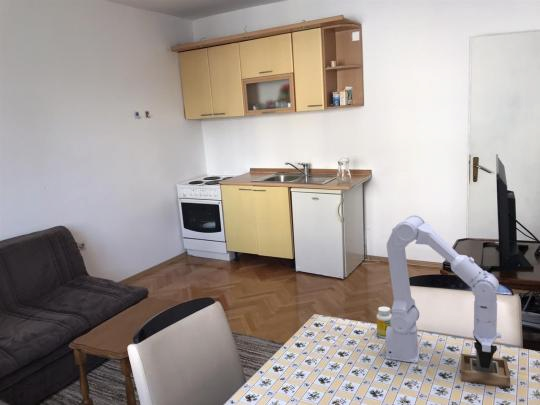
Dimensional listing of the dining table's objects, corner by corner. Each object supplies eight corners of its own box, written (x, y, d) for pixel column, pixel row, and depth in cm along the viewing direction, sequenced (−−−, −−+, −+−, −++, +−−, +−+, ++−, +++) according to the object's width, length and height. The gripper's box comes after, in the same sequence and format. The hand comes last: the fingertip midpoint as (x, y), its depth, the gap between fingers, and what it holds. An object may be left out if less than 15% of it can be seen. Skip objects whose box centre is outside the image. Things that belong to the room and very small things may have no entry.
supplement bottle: (384, 329, 157) (383, 304, 156) (396, 335, 153) (395, 308, 151) (373, 334, 154) (372, 308, 153) (385, 340, 150) (384, 313, 148)
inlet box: (461, 381, 125) (461, 371, 124) (461, 362, 134) (461, 353, 133) (510, 388, 120) (510, 378, 119) (506, 368, 129) (506, 359, 128)
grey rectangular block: (476, 372, 125) (476, 352, 124) (476, 365, 129) (476, 346, 128) (492, 374, 124) (492, 354, 123) (491, 367, 128) (491, 347, 127)
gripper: (504, 331, 116) (502, 379, 118) (499, 308, 129) (498, 352, 131) (474, 328, 118) (473, 375, 121) (472, 306, 131) (471, 349, 134)
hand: (484, 363), depth 126 cm, fingers closed on grey rectangular block, 4 cm apart
